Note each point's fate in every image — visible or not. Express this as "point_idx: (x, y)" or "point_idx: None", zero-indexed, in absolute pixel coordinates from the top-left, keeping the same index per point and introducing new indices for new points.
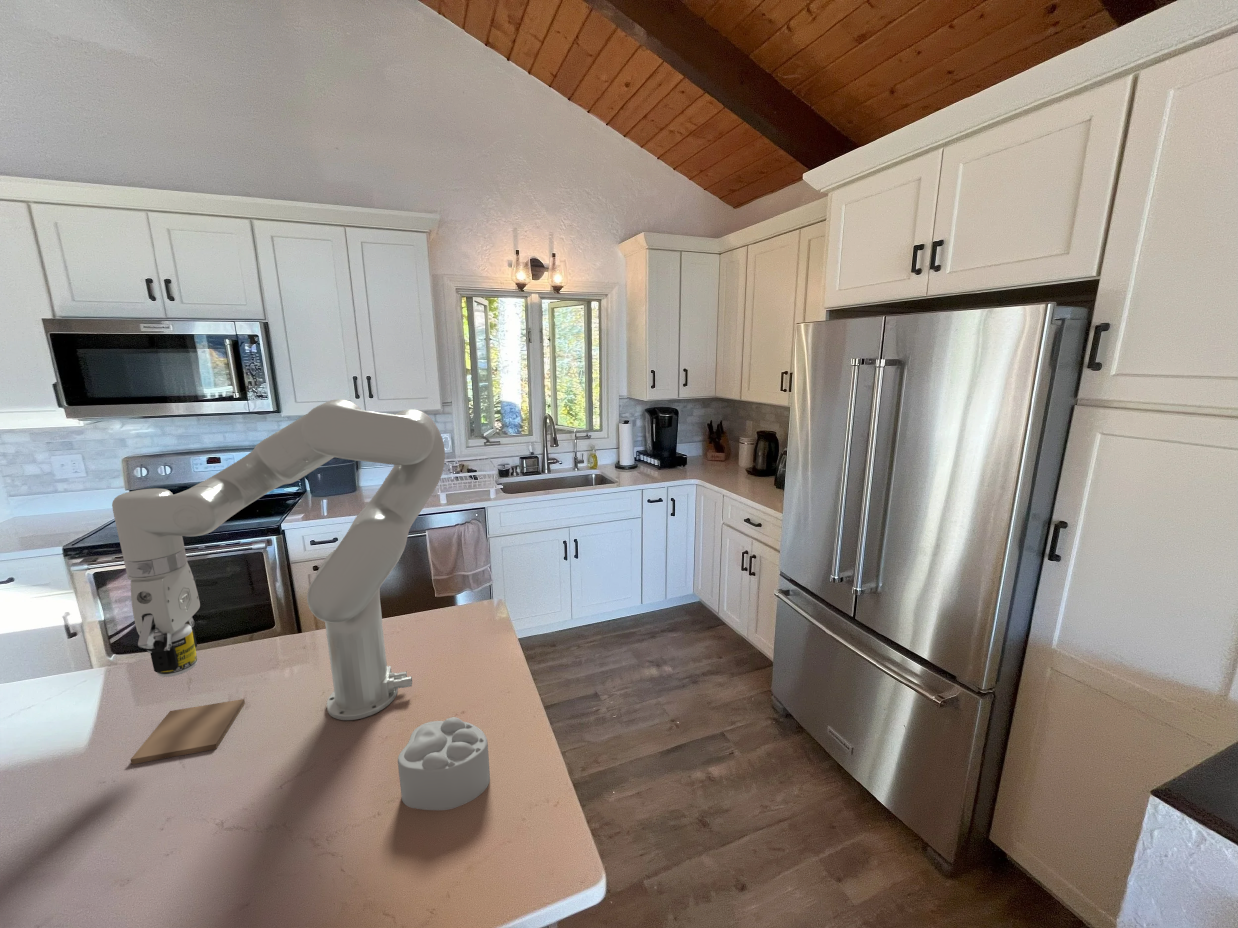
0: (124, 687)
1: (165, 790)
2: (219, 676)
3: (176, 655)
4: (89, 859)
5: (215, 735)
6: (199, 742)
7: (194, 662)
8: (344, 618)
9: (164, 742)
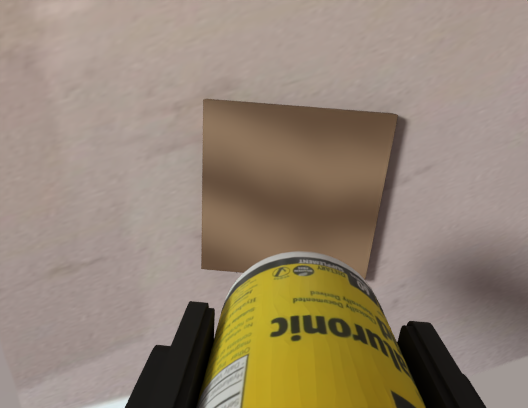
0: (66, 381)
1: (496, 179)
2: (54, 208)
3: (449, 382)
4: None
5: (358, 127)
6: (371, 158)
7: (322, 261)
8: None
9: (331, 238)
